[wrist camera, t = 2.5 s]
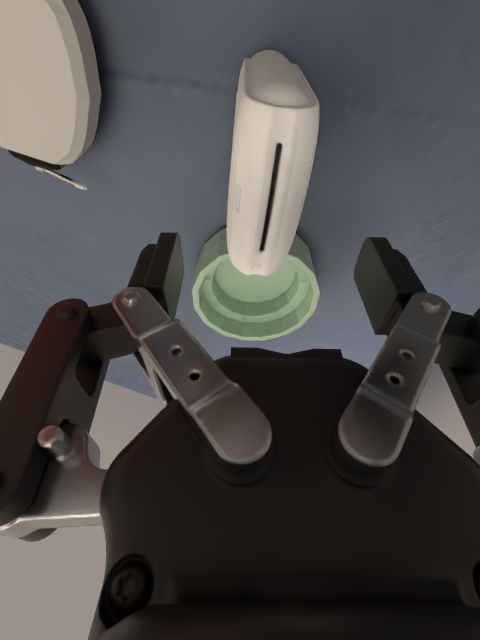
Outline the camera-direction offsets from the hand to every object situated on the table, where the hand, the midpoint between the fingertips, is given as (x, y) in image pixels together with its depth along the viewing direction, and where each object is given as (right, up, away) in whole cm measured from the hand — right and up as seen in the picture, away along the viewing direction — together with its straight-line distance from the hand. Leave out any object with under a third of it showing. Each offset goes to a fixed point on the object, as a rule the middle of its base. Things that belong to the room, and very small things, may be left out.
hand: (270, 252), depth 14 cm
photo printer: (0, +12, +11) cm, 16 cm away
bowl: (0, +3, +20) cm, 20 cm away
